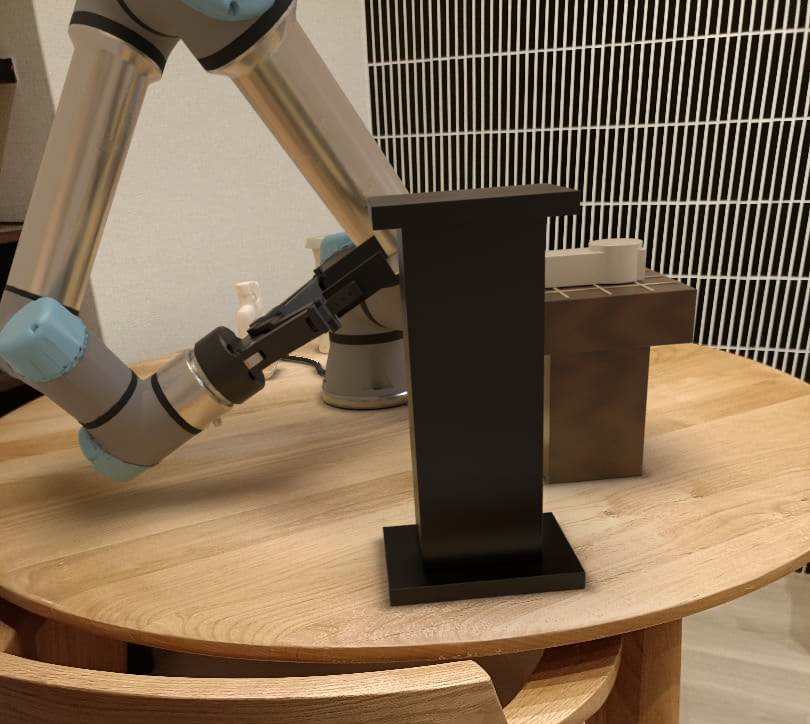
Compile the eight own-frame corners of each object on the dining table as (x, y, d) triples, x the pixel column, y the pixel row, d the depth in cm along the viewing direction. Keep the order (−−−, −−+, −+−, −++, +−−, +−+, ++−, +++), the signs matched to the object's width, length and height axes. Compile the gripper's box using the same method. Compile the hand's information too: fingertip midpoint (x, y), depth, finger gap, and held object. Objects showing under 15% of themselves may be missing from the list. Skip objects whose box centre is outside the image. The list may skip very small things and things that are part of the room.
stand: (390, 606, 66) (355, 209, 53) (383, 540, 77) (353, 197, 64) (585, 588, 67) (600, 190, 53) (551, 525, 78) (556, 181, 64)
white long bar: (403, 301, 80) (400, 262, 78) (399, 292, 84) (397, 255, 83) (647, 281, 80) (650, 242, 79) (630, 273, 85) (632, 236, 83)
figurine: (230, 384, 131) (214, 288, 125) (244, 368, 140) (230, 278, 133) (274, 382, 131) (260, 285, 124) (286, 367, 139) (274, 275, 132)
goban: (526, 497, 84) (526, 301, 75) (499, 445, 98) (497, 275, 89) (680, 484, 84) (698, 287, 76) (631, 433, 99) (641, 264, 90)
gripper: (249, 374, 97) (397, 269, 93) (223, 445, 74) (416, 310, 70) (208, 321, 94) (359, 210, 90) (167, 379, 71) (366, 234, 67)
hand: (385, 254), depth 80 cm, fingers open, 13 cm apart
